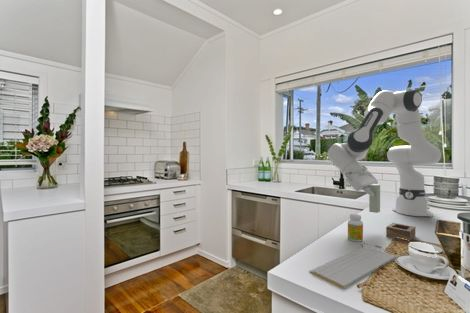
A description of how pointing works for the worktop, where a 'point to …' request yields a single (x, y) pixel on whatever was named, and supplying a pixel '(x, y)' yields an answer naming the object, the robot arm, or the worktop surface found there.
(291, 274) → the worktop surface
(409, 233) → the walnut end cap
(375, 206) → the sage green tall block
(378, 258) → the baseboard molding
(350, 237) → the supplement bottle
